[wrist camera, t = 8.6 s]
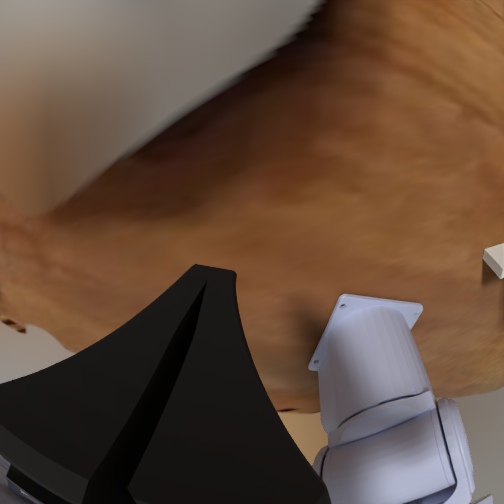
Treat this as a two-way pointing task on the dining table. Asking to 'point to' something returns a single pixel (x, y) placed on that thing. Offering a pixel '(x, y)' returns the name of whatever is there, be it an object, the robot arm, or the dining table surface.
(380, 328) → the robot arm
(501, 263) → the holder
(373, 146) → the dining table surface
